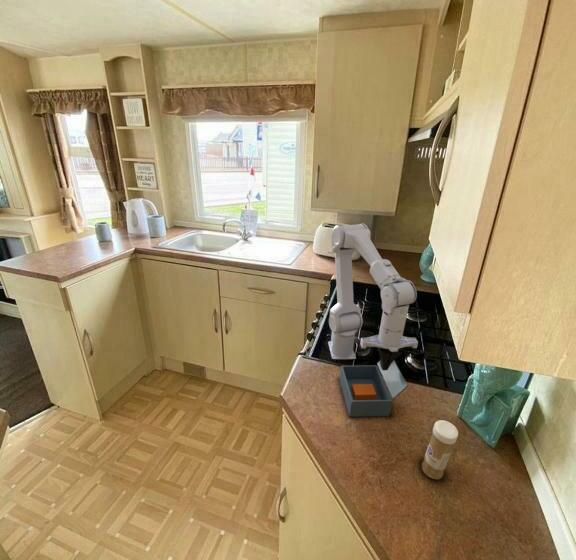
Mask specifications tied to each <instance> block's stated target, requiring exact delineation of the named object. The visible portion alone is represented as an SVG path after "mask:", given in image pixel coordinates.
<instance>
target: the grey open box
mask: <svg viewBox="0 0 576 560" xmlns="http://www.w3.org/2000/svg"><path fill="white" fill-rule="evenodd" d="M339 383H340V386H341V390H342V394H343V398H344V401H345V406H346V409H347V413H348V416H349V417H350V418H351V417H387V416H388V417H389V416H390V414H391V409H392V405H393V402H394V399H393V398H392V396H391V393H390V391H389V389H388V387H387V385H386V382H385V380H384V378H383V376H382V373H381V371H380V369H379V367H378V365H376V364H374V365H370V364H369V365H367V364H365V365H364V364H363V365H341V366H340V373H339ZM352 384H373V387H374V389H375V392H376V394H377V395H376V400H354V398H353V395H352V392H351V388H352Z"/></svg>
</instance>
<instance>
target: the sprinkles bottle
mask: <svg viewBox="0 0 576 560" xmlns="http://www.w3.org/2000/svg"><path fill="white" fill-rule="evenodd" d="M458 437H459V431H458V429H457V427H456V426H455V425H454V424H453V423H451V422H449V421H447V420H443V419H440V420H437V421H435V423H434V425H433V428H432V434H431V437H430V440H429V443H428V445H427V447H426V448H427V449H426V451H425V453H424V458H423V460H422V462H421V469H422V472H423V473H424V475H426V476H427V477H428V478H430V479H432V480H440V479H442V478H443V476H444V472H445V469H446V467H447V465H448V463H449V459H450V456H451V454H452V451H453V448H454V445H455V443H456V442H457V440H458Z"/></svg>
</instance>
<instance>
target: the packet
mask: <svg viewBox="0 0 576 560" xmlns="http://www.w3.org/2000/svg"><path fill="white" fill-rule="evenodd" d="M351 392H352V395H353V398H354V400H376V395H377V394H376V392H375V389H374V387H373V384H352V388H351Z"/></svg>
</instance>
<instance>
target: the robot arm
mask: <svg viewBox="0 0 576 560" xmlns="http://www.w3.org/2000/svg"><path fill="white" fill-rule="evenodd" d="M371 237H372V235H371V230H370V229H369V227H368V226H367V224H365V223H358V224H345V225H335V226H334V227H333V229H332V231H331V233H330V241H331V242H330V243H331V244H330V245H331V252H332V253H334V263H335V281H336V282H335V283H336V299H337V300H336V301H337V303H336V304H334V305H333V306H332V307H331V308H330V309H329V317H328V325H329V329H330V330H331V336H330V337H331V338H330V341H327V345H328V348H329V352H330V355H331V356H330V357H331V359H332V360H356V359H357V356H356V353H355V351H354V348H355V347H354V346H355V339H356V333H358V331H359V329H361V328H362V327H363V322H364V318H363V316H362V312H361V311H362V310H361V307H360V306H359V305H357V304H355V303H354V279H353V257H352V256H353V254H354V253H355V252H356V251H357V252H358V253H359V255H361V257H362V258H363V259H364V260H365V262H366V263H367V264H368V265H369V266H370V268H369V274H370V276H371V277H372V279H373V280H374V281H375V283H376V285H377V286H378V288H379V289H380V299H381V309H382V313H381V320H380V325H379V330H378V331H379V332H378V334H376V335H372V336H367V337H361V338H360V342H359V343H360V344H359V345H360V347H361V349H367V348H377V350H378V354H379V361H380V363H381V368H382V370H388V368H389V367H390V365H391V363H392V362H393V361H396V359H397V358H398V357H400V356H401V352H402V351H401V349H402V348H403V349H404V348H406V347H407V348H410V347H411V348H412V349H417V348H418V346H419V345H418V344H419V341H418V339H417V338H416V337H409V336H404V330H405V326H406V321H407V317H408V312H409V309H410V308H409V307H410V305H412V304H414V303H415V302H416V301H417V297H418V293H417V289H416V287H415V285H414V283H413V282H412V280H409V279H406V278H405V277H402V276H401V275H400V273H398V271H397V269H396V268H395V266H393V264H392V262H391V261H390V260H389V259H386V258H382V256H381V255H380V253H379V252H378V249H377V248H376V246H375V245H374V242H373V241H372V240H371Z"/></svg>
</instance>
